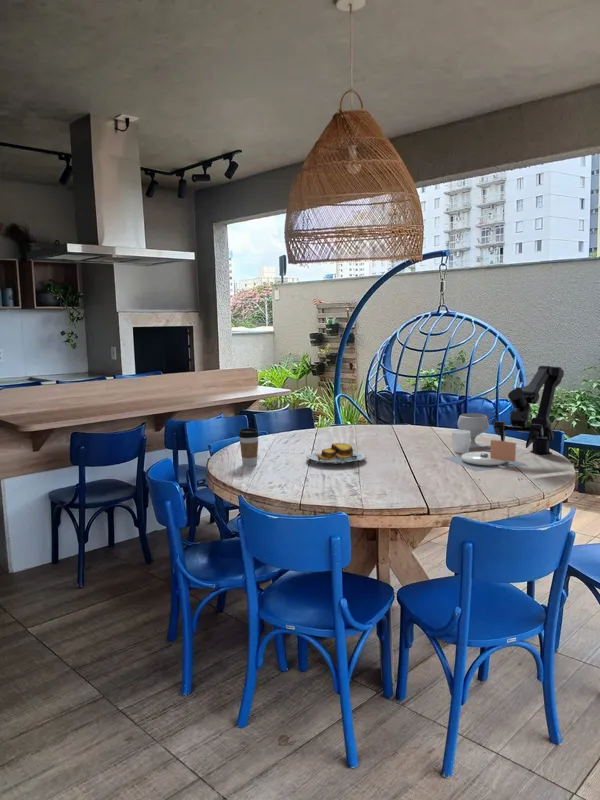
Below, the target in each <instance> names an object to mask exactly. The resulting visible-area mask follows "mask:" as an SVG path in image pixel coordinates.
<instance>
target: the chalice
mask: <svg viewBox="0 0 600 800" xmlns="http://www.w3.org/2000/svg"><path fill="white" fill-rule="evenodd" d="M456 425H457V428H458V430H467V431H470V446H469V449H471V448H472V449H473V448H479V447H480V448H481V447H486V445H485V444H480V443H477V442H476V438H477V436H479V435H481V434H483V433H485V432H486V431H488V429H489V427H490V422H489V419H488V416H487V415H486V414H483V413H476V412H475V413H474V412H472V413H471V412H469V413H461V414H460V415H459V417H458V419H457V424H456Z"/></svg>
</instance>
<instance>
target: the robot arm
mask: <svg viewBox="0 0 600 800" xmlns="http://www.w3.org/2000/svg"><path fill="white" fill-rule="evenodd" d="M564 374H565V370H563V368H562V367H561V366H550V365H539V366H538V368H537V371H536V373H535V374H534V376H533V378H532V379H531V381H530V382H529V383H528V384H527V385H525V386H522V387H517V386H516V387H515V389H513V390H511V391H509V392H508V394H507V397H508V400H509V401H510V403H511V405H512V407H513V408H514V410H510V414H509V420H510V421H509V422H510V423H509V424H510V425H509V424H506V423H505V421H501V420H500V421H498V420H496V421H494V422H493V425H492V427H493V431H494V434H497V435H498V436H499V437H500V441H506V432H507V431H511V432H517V433H518V432H519V433H528V435H527V436H528V437H527V440H526V443H525V449H528V448H529V446H530V445H531V444H532V448H531V449H532V450H530V452H531V453H533V454H538V455H549V454H553V452H552V451H550V445H551V444H550V443H551V441H554V439H555V437H554V436H555V434H554V431H553V430H552V424H551V421H550V414H551V410H552V406H553V401H554V396H555V393H556V388H557V387H558V385H560V384H561V382H562V379H563V378H564ZM542 387H543V389H542ZM541 389H542V394H541V396H540V394H539V392H540V391H541ZM540 397H541V398H540ZM539 400H540V402H539V406H538V407H539V408H538V409H537V410H538V411H537V415H536V416H535V417H532V418H531V422H530V425H529V427H527V425H528V423H529V420H530V413H532V410H531V408H532V407H531V405H535V404H537V403H538V401H539Z"/></svg>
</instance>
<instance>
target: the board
mask: <svg viewBox="0 0 600 800" xmlns="http://www.w3.org/2000/svg"><path fill="white" fill-rule="evenodd" d="M443 459H446V460H448V461H449V462H452V463H455V464H458V465H460V466H463V467H464V468H466V469H469V470H472V471H475V472H480V471H489V470H498V469H499V470H500V469H506V468H507V469H508V468H517V467H523V466H524V467H525V466H527V467H528V464H526V463H522V462H519V461H517V460H515V461H514V462H513V461H507V462H506V463H504V464H500V465H477V464H471V463H467V462H464V461H463V460H462V455H455V456H447V457H445V456H444V457H443Z"/></svg>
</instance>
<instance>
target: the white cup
mask: <svg viewBox="0 0 600 800" xmlns="http://www.w3.org/2000/svg"><path fill="white" fill-rule="evenodd" d="M451 437H452V438H451V443H452V451H453V452H454V453H457V454H459V453H460V454H464V453H468V452H470V448H469V446H470V441H471V439H470V431H467V430H459V429H456V430H454V429H453V430H452V431H451Z"/></svg>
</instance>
